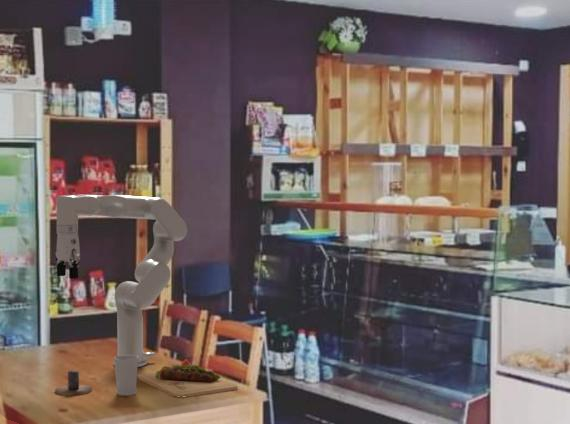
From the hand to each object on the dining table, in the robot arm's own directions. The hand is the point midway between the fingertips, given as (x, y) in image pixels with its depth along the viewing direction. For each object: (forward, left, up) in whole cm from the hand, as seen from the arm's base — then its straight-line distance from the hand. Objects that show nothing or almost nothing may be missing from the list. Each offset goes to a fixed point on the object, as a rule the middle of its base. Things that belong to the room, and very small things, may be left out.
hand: (67, 277), depth 332 cm
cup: (-7, +37, -36) cm, 52 cm away
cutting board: (-30, +35, -36) cm, 59 cm away
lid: (+7, +25, -36) cm, 44 cm away
